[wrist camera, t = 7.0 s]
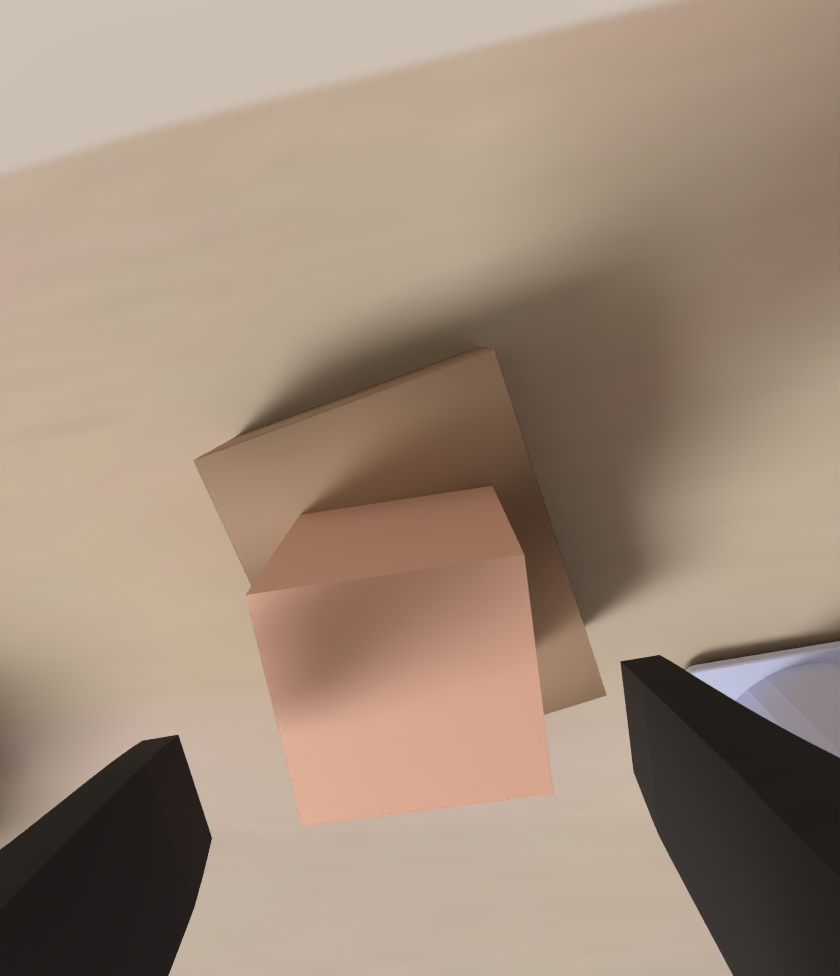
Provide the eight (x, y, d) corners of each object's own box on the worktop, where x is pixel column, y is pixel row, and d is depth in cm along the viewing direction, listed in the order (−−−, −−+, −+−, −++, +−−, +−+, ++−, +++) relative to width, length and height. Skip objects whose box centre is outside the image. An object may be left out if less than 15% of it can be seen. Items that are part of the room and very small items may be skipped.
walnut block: (572, 628, 21) (606, 695, 17) (354, 698, 22) (340, 777, 18) (479, 346, 19) (494, 349, 15) (239, 435, 19) (193, 460, 15)
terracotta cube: (515, 660, 17) (553, 793, 12) (336, 685, 17) (301, 826, 12) (492, 485, 16) (524, 554, 11) (299, 515, 16) (245, 594, 11)
